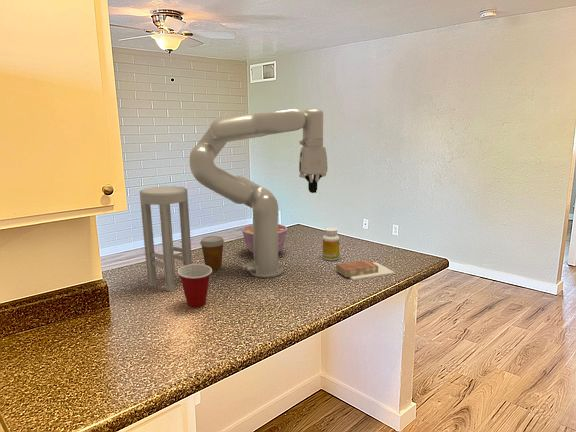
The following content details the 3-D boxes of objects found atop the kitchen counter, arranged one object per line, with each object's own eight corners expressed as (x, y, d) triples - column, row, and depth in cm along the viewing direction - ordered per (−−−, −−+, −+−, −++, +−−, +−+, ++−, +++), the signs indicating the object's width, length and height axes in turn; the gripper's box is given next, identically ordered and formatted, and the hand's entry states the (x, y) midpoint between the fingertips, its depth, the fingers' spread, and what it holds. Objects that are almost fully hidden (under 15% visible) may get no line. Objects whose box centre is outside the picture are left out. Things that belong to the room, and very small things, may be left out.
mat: (353, 280, 156) (353, 278, 156) (337, 269, 168) (337, 267, 168) (394, 273, 163) (394, 272, 163) (376, 263, 175) (376, 262, 174)
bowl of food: (236, 250, 194) (235, 226, 191) (276, 244, 202) (276, 221, 199) (251, 263, 176) (251, 236, 174) (295, 256, 184) (295, 231, 182)
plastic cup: (193, 314, 131) (191, 277, 128) (173, 305, 137) (170, 270, 135) (220, 303, 139) (219, 268, 136) (200, 294, 145) (198, 261, 143)
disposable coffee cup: (227, 263, 176) (226, 235, 174) (222, 271, 167) (220, 242, 164) (205, 263, 177) (203, 235, 175) (198, 271, 168) (196, 242, 165)
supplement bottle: (339, 260, 178) (340, 231, 176) (322, 260, 179) (323, 231, 176) (338, 255, 185) (338, 227, 183) (321, 255, 186) (322, 227, 183)
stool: (171, 273, 166) (164, 184, 158) (201, 280, 159) (195, 187, 151) (139, 286, 153) (130, 190, 146) (170, 294, 146) (162, 194, 138)
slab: (346, 271, 157) (378, 266, 162) (336, 264, 165) (367, 259, 170) (345, 277, 158) (378, 272, 163) (336, 270, 165) (367, 265, 170)
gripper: (298, 144, 151) (298, 195, 155) (335, 143, 157) (334, 192, 161) (290, 143, 158) (290, 192, 162) (326, 142, 163) (326, 189, 167)
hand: (312, 192), depth 161 cm, fingers closed
